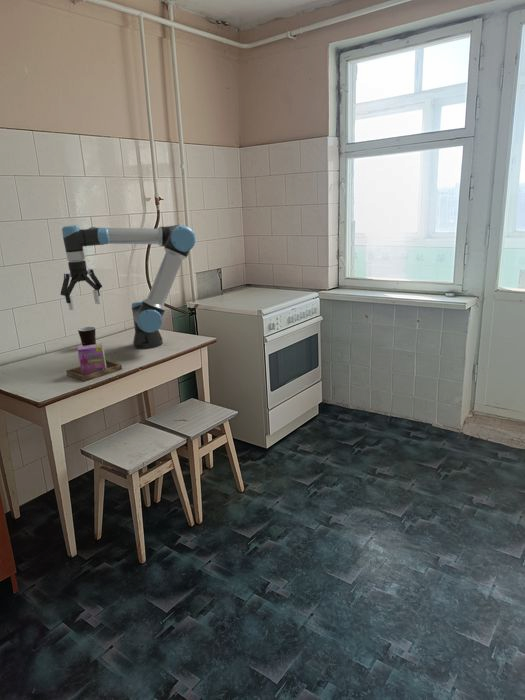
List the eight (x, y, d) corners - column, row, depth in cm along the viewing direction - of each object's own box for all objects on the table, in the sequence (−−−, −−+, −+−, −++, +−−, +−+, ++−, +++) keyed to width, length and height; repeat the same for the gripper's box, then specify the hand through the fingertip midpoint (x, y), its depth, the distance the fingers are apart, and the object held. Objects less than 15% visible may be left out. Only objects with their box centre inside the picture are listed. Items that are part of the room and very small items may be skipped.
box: (81, 375, 216) (77, 349, 213) (82, 371, 222) (78, 346, 218) (106, 372, 219) (102, 346, 216) (106, 368, 224) (103, 343, 221)
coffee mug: (94, 349, 257) (91, 330, 254) (78, 350, 257) (75, 331, 254) (102, 343, 268) (99, 325, 265) (86, 343, 268) (83, 325, 265)
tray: (104, 363, 232) (103, 359, 231) (122, 369, 222) (121, 364, 222) (67, 375, 219) (66, 370, 218) (83, 381, 209) (83, 376, 209)
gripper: (95, 256, 236) (103, 300, 242) (46, 264, 218) (56, 311, 224) (104, 257, 231) (112, 301, 238) (55, 265, 213) (65, 313, 219)
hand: (85, 306), depth 231 cm, fingers open, 13 cm apart
